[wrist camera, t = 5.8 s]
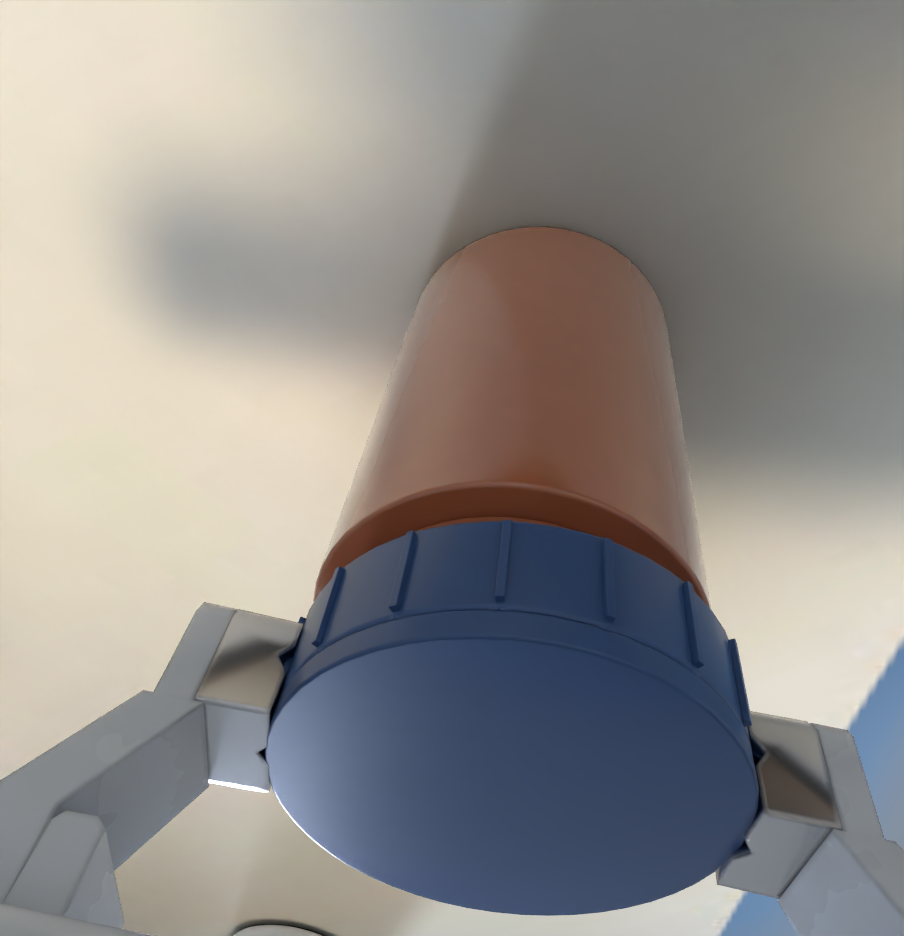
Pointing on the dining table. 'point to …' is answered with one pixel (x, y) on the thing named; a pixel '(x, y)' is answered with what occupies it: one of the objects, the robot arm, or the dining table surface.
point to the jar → (531, 407)
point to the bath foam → (274, 931)
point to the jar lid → (516, 722)
